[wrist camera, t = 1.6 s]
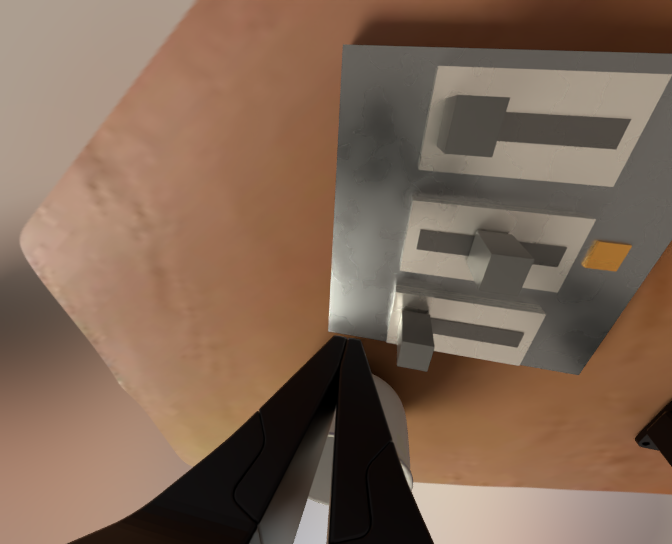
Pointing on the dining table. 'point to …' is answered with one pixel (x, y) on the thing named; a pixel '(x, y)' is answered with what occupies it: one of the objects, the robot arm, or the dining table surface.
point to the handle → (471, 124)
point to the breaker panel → (500, 196)
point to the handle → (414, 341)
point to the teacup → (400, 438)
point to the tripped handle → (498, 263)
